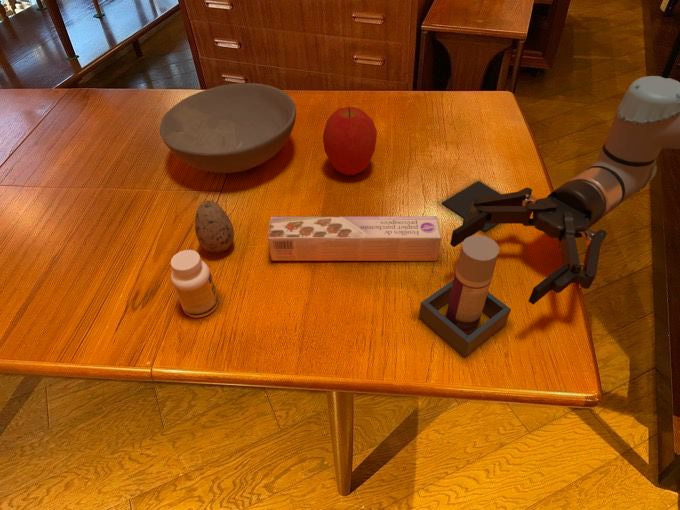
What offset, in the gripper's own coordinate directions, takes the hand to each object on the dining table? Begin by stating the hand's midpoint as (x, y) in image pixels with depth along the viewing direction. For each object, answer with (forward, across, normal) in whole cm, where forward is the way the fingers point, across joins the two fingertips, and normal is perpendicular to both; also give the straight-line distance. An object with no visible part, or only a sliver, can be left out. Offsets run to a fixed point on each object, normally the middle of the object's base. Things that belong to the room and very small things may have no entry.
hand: (490, 266), depth 65 cm
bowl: (+8, +58, -9) cm, 59 cm away
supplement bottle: (+32, +27, -9) cm, 43 cm away
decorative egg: (+24, +36, -9) cm, 44 cm away
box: (+7, +21, -9) cm, 24 cm away
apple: (-7, +39, -9) cm, 41 cm away
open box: (+4, 0, -9) cm, 10 cm away
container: (+4, 0, -9) cm, 10 cm away
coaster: (-18, +15, -9) cm, 25 cm away
